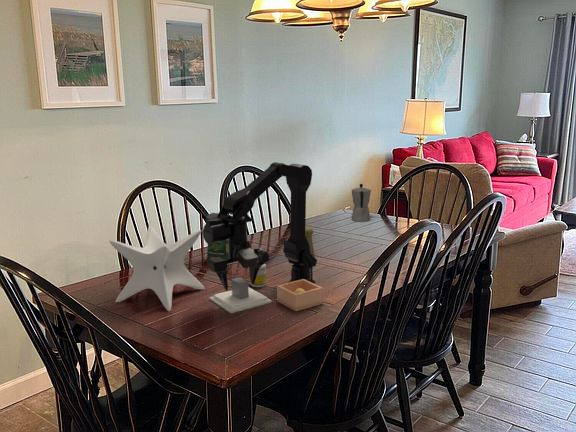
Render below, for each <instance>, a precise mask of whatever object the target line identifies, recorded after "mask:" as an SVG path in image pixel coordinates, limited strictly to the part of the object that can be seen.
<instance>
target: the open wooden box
mask: <svg viewBox="0 0 576 432" xmlns="http://www.w3.org/2000/svg"><path fill="white" fill-rule="evenodd" d="M298 288H302V289H304V290H305V292H301V293H297V294H296V293H294V292H295V290H296V289H298ZM276 301H277V302H278V303H280V304H282V305H283V306H285V307H287V308H289V309H291V310H293V311H295V312H299V311H301V310H306V309H309V308H312V307H315V306H319V305H322V304H324V287H322V286H319V285H318V284H316V283H311V282H309V281H307V280H305V279H301V280H297V281H293V282H290V281H289V282H286V283H283V284H278V285H276Z"/></svg>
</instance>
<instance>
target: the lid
mask: <svg viewBox="0 0 576 432" xmlns="http://www.w3.org/2000/svg"><path fill="white" fill-rule="evenodd" d="M230 280H231V290H227V291H222V292H219V293H216V294H213V296H214V298H215V299H217V300H218V301H220V302H222V303H223V304H225V305H226V306H228V307H229V308H231V309H232V310H233V309H237V308H241V307H245V306H249V305H252V304H256V303H260V302H264V301H267V298H268V297H267V296H266V295H264V294H262V293H260V292H259V291H256V290H254V289H253V288H251V287H250V286H249V281H248V280H246V279H244V278H242V277H235V278H231V279H230Z"/></svg>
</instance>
